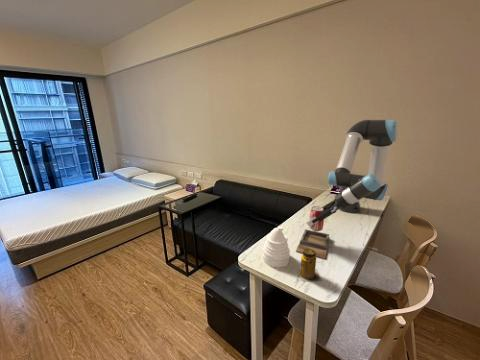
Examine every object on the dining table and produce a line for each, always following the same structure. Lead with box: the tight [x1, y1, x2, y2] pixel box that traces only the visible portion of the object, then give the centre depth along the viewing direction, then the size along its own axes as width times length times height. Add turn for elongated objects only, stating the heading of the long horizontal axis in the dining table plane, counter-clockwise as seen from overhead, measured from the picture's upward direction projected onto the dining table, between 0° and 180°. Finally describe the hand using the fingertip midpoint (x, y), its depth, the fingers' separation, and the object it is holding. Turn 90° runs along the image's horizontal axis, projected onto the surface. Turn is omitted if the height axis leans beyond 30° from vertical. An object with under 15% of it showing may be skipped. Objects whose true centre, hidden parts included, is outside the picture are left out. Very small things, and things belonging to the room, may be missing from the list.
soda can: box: [309, 205, 325, 232], centre depth 117 cm, size 7×7×12 cm
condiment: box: [297, 249, 323, 282], centre depth 96 cm, size 7×8×12 cm
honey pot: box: [262, 225, 291, 269], centre depth 106 cm, size 13×13×18 cm
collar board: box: [295, 229, 331, 260], centre depth 119 cm, size 20×14×4 cm
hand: (309, 221), depth 119 cm, fingers closed on soda can, 7 cm apart
